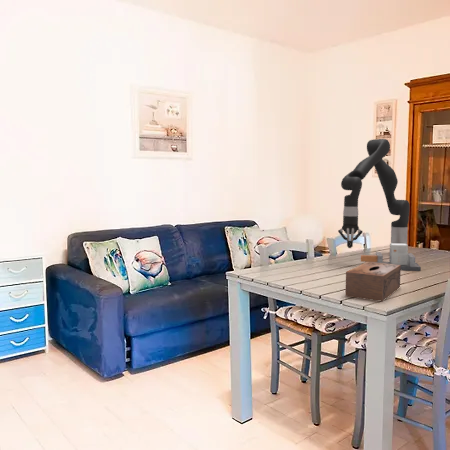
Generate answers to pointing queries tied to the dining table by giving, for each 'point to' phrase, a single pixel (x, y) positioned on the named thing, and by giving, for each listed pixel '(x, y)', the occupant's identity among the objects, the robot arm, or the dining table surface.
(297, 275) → the dining table surface
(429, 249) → the dining table surface
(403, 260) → the small box
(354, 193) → the robot arm
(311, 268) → the dining table surface
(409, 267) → the vise
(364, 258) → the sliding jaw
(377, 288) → the tissue box cover
